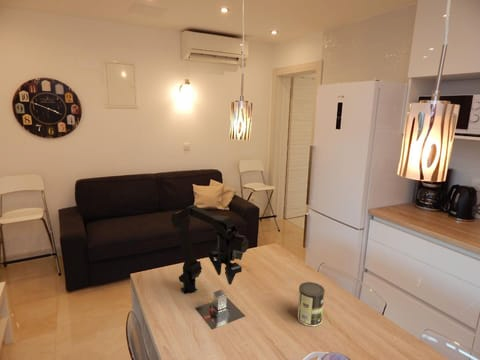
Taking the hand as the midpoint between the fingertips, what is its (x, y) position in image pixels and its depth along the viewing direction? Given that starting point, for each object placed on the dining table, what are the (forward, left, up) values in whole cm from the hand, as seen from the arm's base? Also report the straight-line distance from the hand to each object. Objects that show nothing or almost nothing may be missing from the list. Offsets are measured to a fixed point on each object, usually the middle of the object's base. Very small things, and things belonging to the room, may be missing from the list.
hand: (224, 279), depth 136 cm
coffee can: (+26, +26, -13) cm, 39 cm away
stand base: (+4, -5, -13) cm, 14 cm away
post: (+4, -5, -12) cm, 13 cm away
